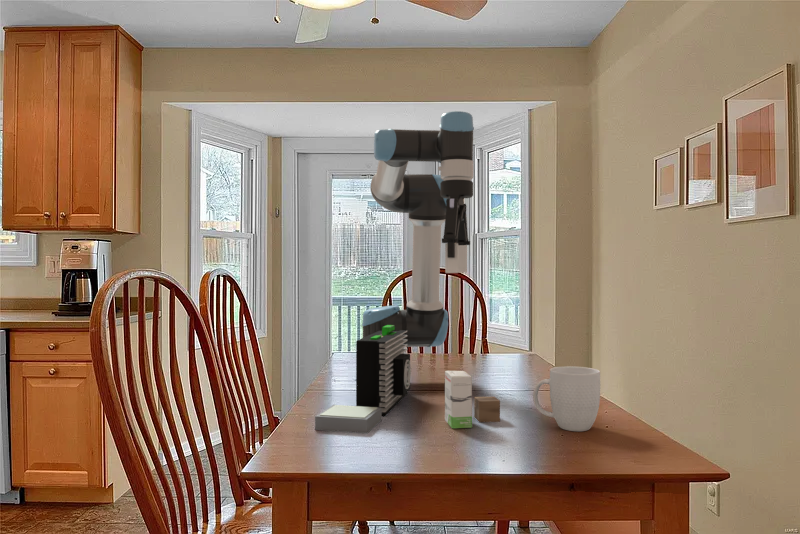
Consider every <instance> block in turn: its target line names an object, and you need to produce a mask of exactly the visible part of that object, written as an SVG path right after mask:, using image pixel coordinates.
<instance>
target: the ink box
mask: <svg viewBox="0 0 800 534" xmlns="http://www.w3.org/2000/svg"><path fill="white" fill-rule="evenodd" d="M472 378H473V377H472V376H471V375H470V374H469V373H468V372H466V371H465V370H445V371H444V421H445V422H446V423H447V424H448V426H449V427H450V428H451V429H469V428H470V429H472V428H473V390H472V389H473V388H472V387H473V384H472V383H473V382H472V381H473V380H472Z"/></svg>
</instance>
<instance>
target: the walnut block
mask: <svg viewBox="0 0 800 534" xmlns="http://www.w3.org/2000/svg"><path fill="white" fill-rule="evenodd" d="M473 402H474V404H473V405H474V408H473V409H474V410H473V415H474V416H473V417H475V418H476V419H477V420H478V421H479V422H478V421H477V420H476V419H475V418H474V419H475V420H476V421H477V422H478V423H500V422H501V400H500V399H499V398H497V397H496V396H474V400H473Z"/></svg>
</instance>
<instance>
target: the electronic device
mask: <svg viewBox="0 0 800 534" xmlns="http://www.w3.org/2000/svg"><path fill="white" fill-rule="evenodd" d="M406 332H407V330H400V331H395V325H386V326H384V327H382V331H378V332H375V333H373V334H371V335H369V336H366V337H364V338H363V337H361V338H360V339H357V340H356V342H355V344H356V345H355V349H356V350H355V353H356V354H355V355H356V356H355V363H356V365H355V367H356V369H355V370H356V371H355V386H356V387H355V392H356V393H355V396H356V397H355V403H356V404H355V406H362V407H379V408H382V417H384V416H385V417H387V415H389V414H390V412H391V411H393V409H394V408H395V407H396V406H397V405H399V403H400V402H401V401H402V400H403V399H404V398H405V397H406V396H407V395H408V392H409V390H410V389H411V377H412V375H411V374H412V373H411V371H412V369H411V367H412V366H411V353H407V351H408V348H407V347H406V346H407V344H403V343H405V342H406V341H407V340H404V338H405V337H407V335H402V334H404V333H406Z"/></svg>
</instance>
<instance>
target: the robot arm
mask: <svg viewBox="0 0 800 534" xmlns="http://www.w3.org/2000/svg"><path fill="white" fill-rule="evenodd" d="M439 128H440V129H439V130H437V129H436V130H434V129H433V130H432V129H431V130H430V129H429V130H428V129H427V130H426V129H425V130H424V129H396V128H395V129H393V128H387V129H378V130H376V131H375V132H374V137H373V138H374V139H373V155H374V158H375V160H377V161H378V164H377V169H376V173H375V174H374V175H373V176H372V179H371V181H370V193H371V196H372V198H373V199H374V200H375V202H376V203H378V205H380V207H383V209H386V210H388V211H389V212H393V213H397V214H398V213H400V214H408V220H409V221H410V222H411V223H412V224H413V229H412V230H413V231H412V266H411V268H412V272H411V273H412V274H411V299H410V300H409V301H408V302H407V303H406V309H401V308H400V305H397V304H396V305H386V306H379V307H371V308H368V309H366V310H364V312H363V314H362V324H361V326H362V338H364V337H366V336H369V335H371V334H373V333H375V332H378V331H382V327H384V326H386V325H395V331H400V330H407V332H406V333H404V334H402V335H407V337H405V338H404V340H407V341H406V342H405V343H403V344H407V346H406V347H405V348H409V347H410V348H414V347H418V348H421V347H423V348H424V347H426V348H431V347H440V346H442V345H443V344H444V342H445V341H446V338H447V333H448V328H449V313H448V311H447V310H446V309H444V304H443V302H442V301H440V297H439V296H440V275H441V273H440V272H441V270H440V269H441V248H442V247H441V246H442V245H441V244H445V248H444V249H445V252H444V254H445V260H444V261H445V271H444V272H445V274H458V273H468V246H470V245H471V241H470V239H469V236H468V219H467V204H466V203H464V202H465V201H464V200H465V199H470V198H472V197H473V196H474V182H473V181H472V180H473V179H474V129H475V127H474V119H473V115H472V114H471V113H469V112H467V111H456V110H455V111H448V112H445V113H442V115H441V116H440V124H439ZM409 162H432V163H433V162H434V163H435V162H437V163H439V164H440V166H438V168H437V170H438V171H439V172H440V174H434V173H432V174H423V173H422V174H418V173H417V174H415V173H413V174H411V173H409V174H408V173H407V174H405V173H406V171H407V168H408V165H409ZM443 223H444V230H443V237H442V226H443Z"/></svg>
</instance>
